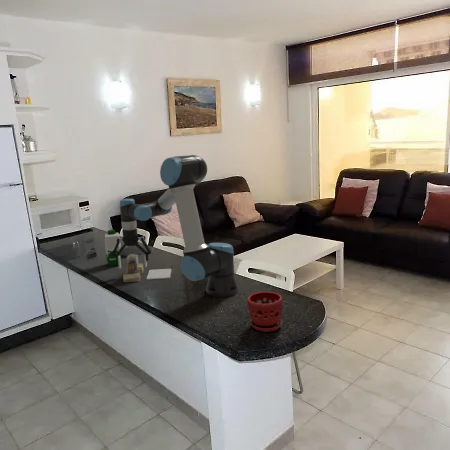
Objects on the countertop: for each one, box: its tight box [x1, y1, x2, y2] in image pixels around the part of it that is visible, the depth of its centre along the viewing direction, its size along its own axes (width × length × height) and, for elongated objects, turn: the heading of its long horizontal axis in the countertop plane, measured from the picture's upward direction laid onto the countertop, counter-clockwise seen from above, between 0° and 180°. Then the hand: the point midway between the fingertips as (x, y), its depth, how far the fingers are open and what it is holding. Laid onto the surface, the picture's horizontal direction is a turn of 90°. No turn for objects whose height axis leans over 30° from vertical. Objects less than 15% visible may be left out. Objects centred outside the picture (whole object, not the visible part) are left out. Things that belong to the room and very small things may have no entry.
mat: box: [146, 268, 172, 281], centre depth 218 cm, size 14×12×1 cm
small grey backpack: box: [120, 241, 143, 257], centre depth 261 cm, size 15×8×20 cm
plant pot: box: [247, 291, 283, 333], centre depth 154 cm, size 13×13×12 cm
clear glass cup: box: [126, 254, 140, 271], centre depth 216 cm, size 6×5×8 cm
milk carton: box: [103, 229, 123, 267], centre depth 237 cm, size 9×9×20 cm
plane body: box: [122, 263, 144, 283], centre depth 216 cm, size 17×8×9 cm, turn 4°
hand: (133, 267), depth 216 cm, fingers open, 13 cm apart
